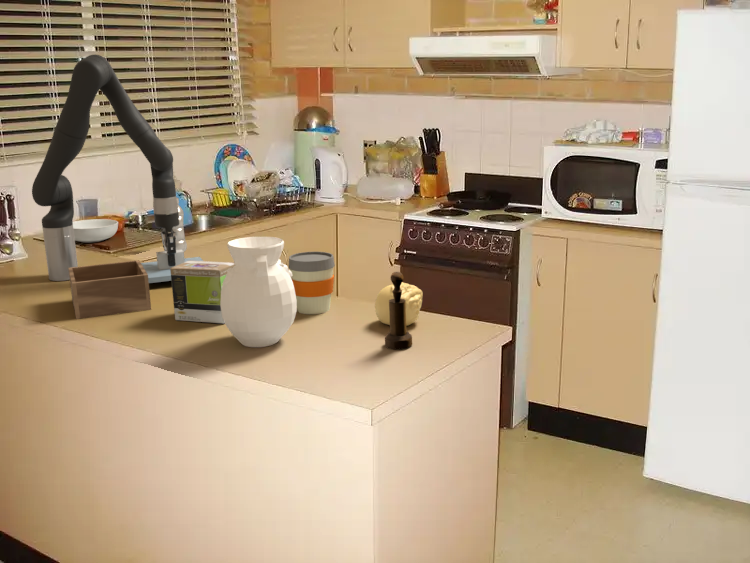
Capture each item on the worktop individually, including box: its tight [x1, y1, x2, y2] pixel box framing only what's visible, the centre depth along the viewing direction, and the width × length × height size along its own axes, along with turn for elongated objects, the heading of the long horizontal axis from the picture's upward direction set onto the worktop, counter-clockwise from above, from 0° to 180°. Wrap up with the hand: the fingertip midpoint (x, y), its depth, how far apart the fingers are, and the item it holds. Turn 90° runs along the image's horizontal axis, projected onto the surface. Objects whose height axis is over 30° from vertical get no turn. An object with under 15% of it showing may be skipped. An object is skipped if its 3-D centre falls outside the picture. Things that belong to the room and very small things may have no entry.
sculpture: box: [374, 282, 424, 327], centre depth 219 cm, size 12×12×11 cm
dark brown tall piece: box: [384, 271, 413, 350], centre depth 201 cm, size 7×6×18 cm
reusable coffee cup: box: [287, 251, 336, 315], centre depth 233 cm, size 13×13×15 cm
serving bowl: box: [73, 218, 119, 244], centre depth 335 cm, size 21×21×7 cm
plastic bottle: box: [172, 196, 188, 253], centre depth 307 cm, size 6×7×20 cm
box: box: [68, 259, 152, 320], centre depth 243 cm, size 20×20×10 cm
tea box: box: [170, 260, 235, 324], centre depth 228 cm, size 15×10×15 cm
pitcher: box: [220, 236, 298, 348], centre depth 206 cm, size 19×18×25 cm
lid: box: [140, 249, 204, 284], centre depth 271 cm, size 22×22×7 cm
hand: (170, 264), depth 271 cm, fingers closed on lid, 4 cm apart
